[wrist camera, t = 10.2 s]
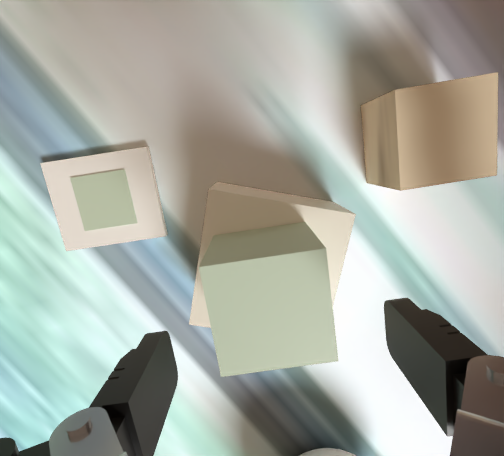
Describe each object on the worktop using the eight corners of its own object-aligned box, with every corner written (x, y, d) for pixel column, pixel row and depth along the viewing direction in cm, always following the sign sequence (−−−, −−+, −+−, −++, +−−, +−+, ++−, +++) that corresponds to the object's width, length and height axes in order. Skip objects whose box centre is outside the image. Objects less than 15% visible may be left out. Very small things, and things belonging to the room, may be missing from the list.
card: (148, 146, 21) (145, 146, 20) (167, 234, 22) (165, 236, 21) (45, 162, 21) (39, 163, 20) (70, 249, 22) (65, 251, 22)
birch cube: (438, 92, 20) (497, 72, 15) (440, 170, 21) (496, 175, 16) (360, 105, 20) (394, 89, 15) (366, 182, 21) (400, 190, 17)
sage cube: (305, 221, 17) (326, 248, 12) (315, 305, 18) (338, 361, 13) (213, 235, 17) (198, 267, 12) (229, 317, 18) (221, 377, 13)
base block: (332, 201, 22) (355, 214, 17) (308, 305, 24) (323, 345, 19) (217, 181, 22) (208, 189, 17) (202, 289, 23) (189, 324, 18)
